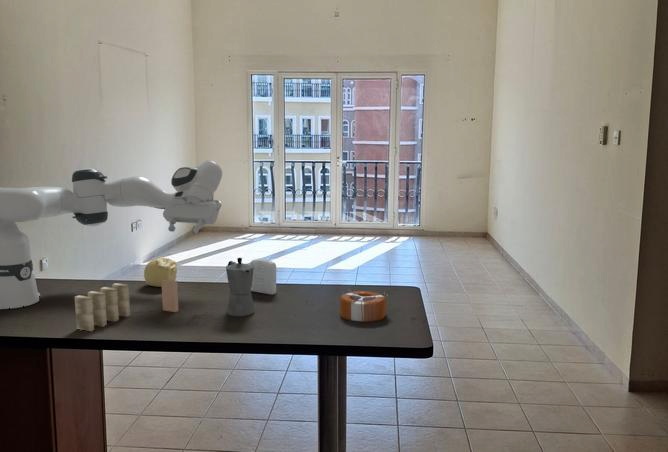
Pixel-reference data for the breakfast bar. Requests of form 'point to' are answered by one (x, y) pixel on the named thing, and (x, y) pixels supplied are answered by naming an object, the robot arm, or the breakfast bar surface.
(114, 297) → the domino
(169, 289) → the domino
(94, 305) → the domino
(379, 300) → the coil
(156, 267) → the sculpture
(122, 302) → the domino
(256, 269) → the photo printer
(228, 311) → the coffeepot
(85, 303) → the domino
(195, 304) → the breakfast bar surface
